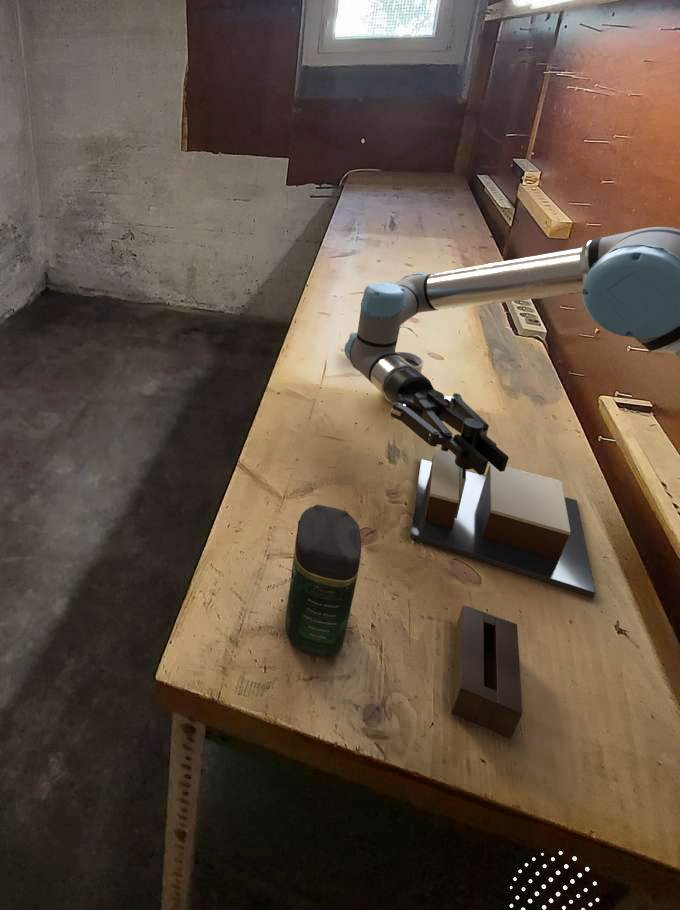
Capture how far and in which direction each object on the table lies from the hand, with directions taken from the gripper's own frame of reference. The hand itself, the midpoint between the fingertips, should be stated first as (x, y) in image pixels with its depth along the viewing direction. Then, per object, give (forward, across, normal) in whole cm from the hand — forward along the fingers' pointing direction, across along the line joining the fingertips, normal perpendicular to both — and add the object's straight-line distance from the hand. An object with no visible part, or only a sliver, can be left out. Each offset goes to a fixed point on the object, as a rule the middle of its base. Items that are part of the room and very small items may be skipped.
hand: (494, 466), depth 85 cm
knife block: (+21, +15, -14) cm, 29 cm away
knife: (-5, 0, -12) cm, 13 cm away
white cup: (-37, -10, -14) cm, 41 cm away
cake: (+1, -7, -13) cm, 15 cm away
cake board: (-1, -5, -14) cm, 15 cm away
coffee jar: (+10, +32, -14) cm, 36 cm away
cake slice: (-6, +2, -13) cm, 14 cm away
